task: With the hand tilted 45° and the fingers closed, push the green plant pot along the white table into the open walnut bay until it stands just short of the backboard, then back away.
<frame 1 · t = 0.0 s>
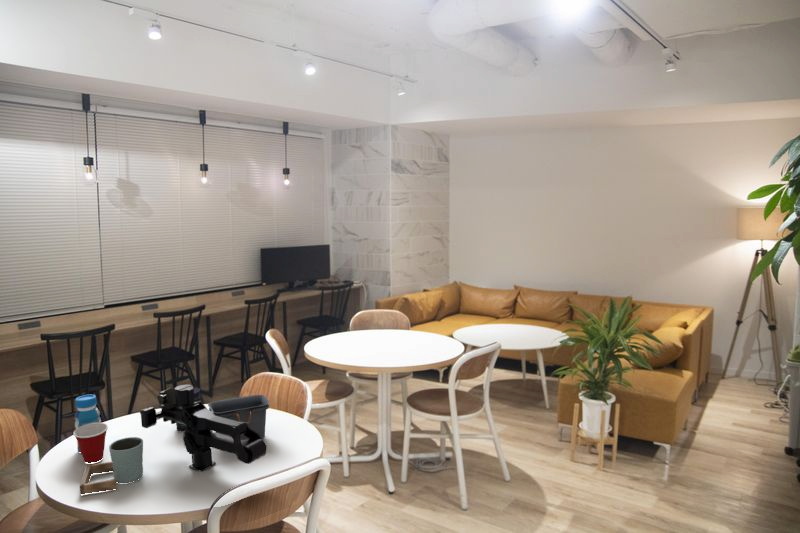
hand: (151, 406, 214), 17 cm above the table, tool horizontal, fingers open, 9 cm apart
plastic cup: (93, 461, 208), on the table
green plant pot: (129, 478, 195), on the table
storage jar: (189, 427, 237), on the table
walnut bay: (108, 481, 193), on the table
storage bin: (241, 440, 224), on the table
beverage bottle: (90, 450, 218), on the table
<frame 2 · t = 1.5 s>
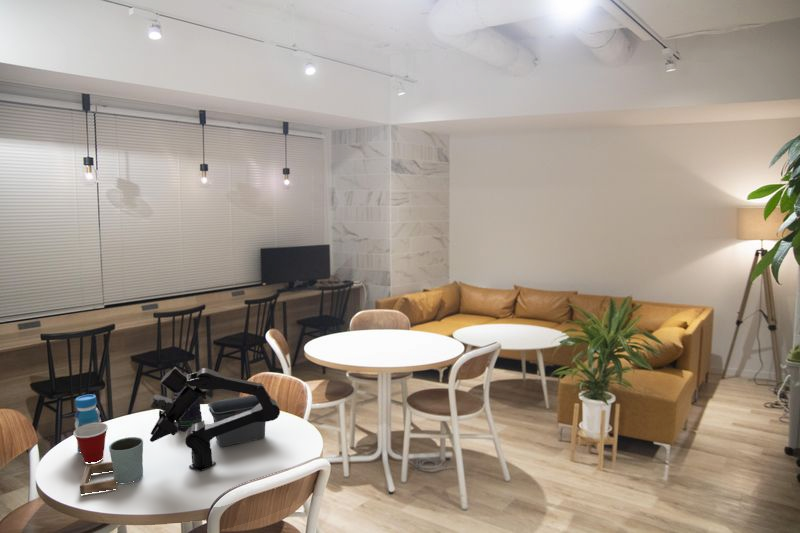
hand: (151, 437, 196), 13 cm above the table, tool tilted 45°, fingers open, 5 cm apart
nothing on the table moved.
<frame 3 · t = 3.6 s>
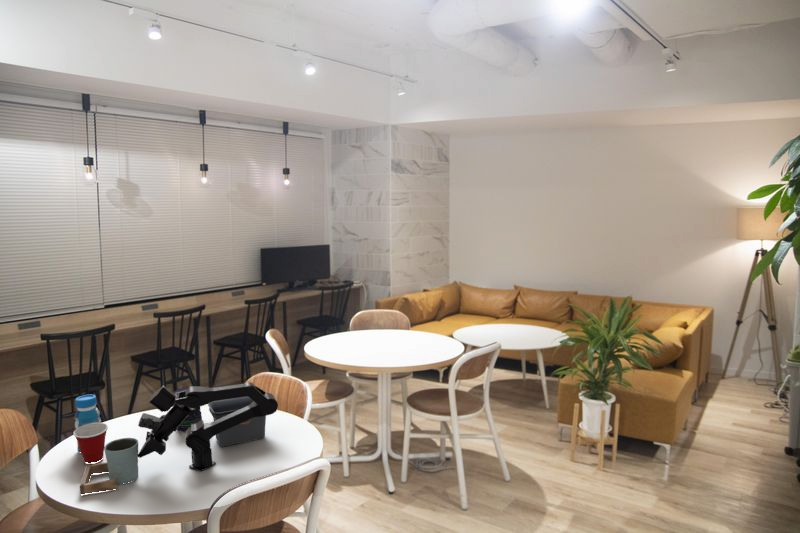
hand: (138, 456, 196), 7 cm above the table, tool tilted 45°, fingers closed, pressing on green plant pot
green plant pot: (124, 479, 195), on the table, touching gripper
everything else where it was.
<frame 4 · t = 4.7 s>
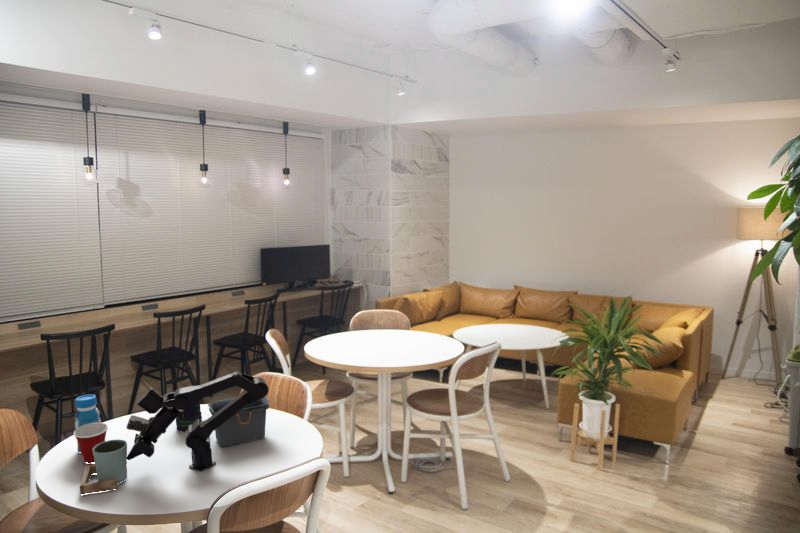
hand: (127, 459, 194), 7 cm above the table, tool tilted 45°, fingers closed
green plant pot: (113, 481, 194), on the table
everything else where it was.
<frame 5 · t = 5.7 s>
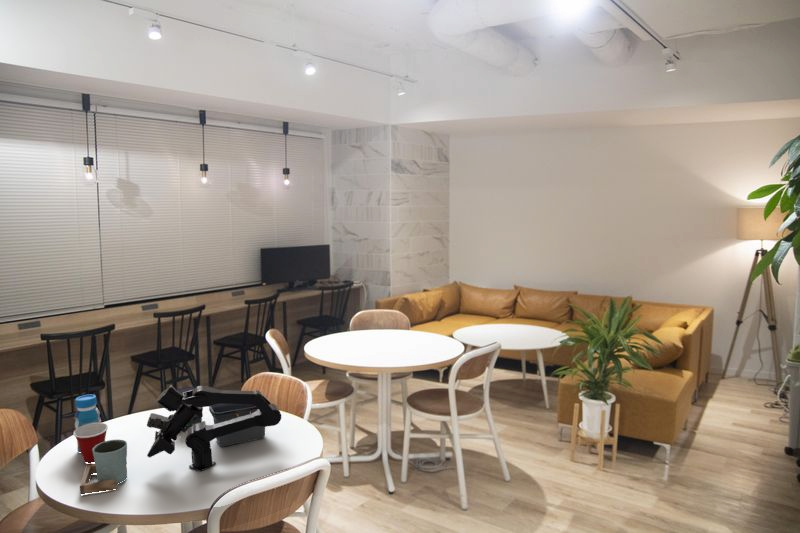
hand: (148, 456, 197), 6 cm above the table, tool tilted 45°, fingers closed
nothing on the table moved.
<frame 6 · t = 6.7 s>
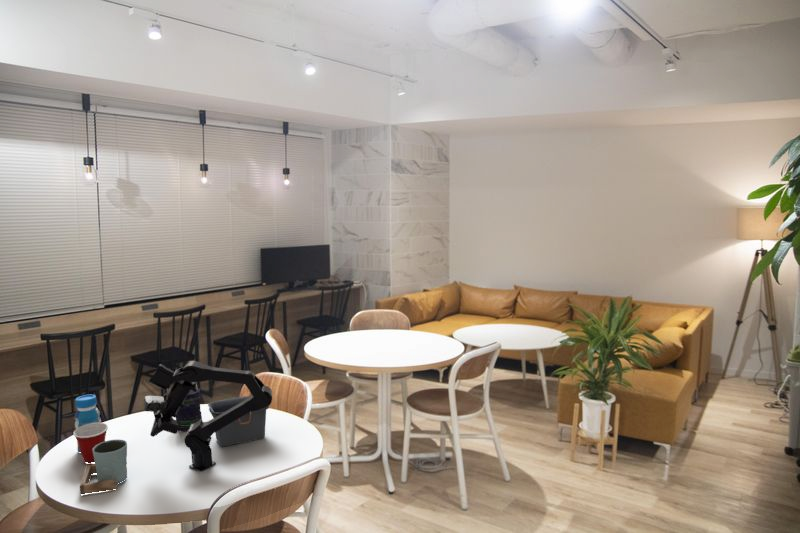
hand: (151, 435, 198), 12 cm above the table, tool tilted 35°, fingers closed
nothing on the table moved.
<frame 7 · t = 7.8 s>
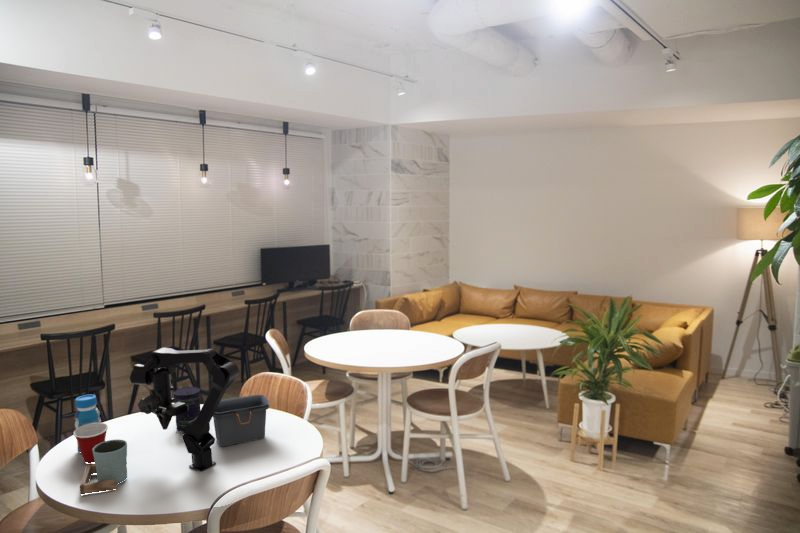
hand: (165, 429, 205), 12 cm above the table, tool pointing down, fingers closed
nothing on the table moved.
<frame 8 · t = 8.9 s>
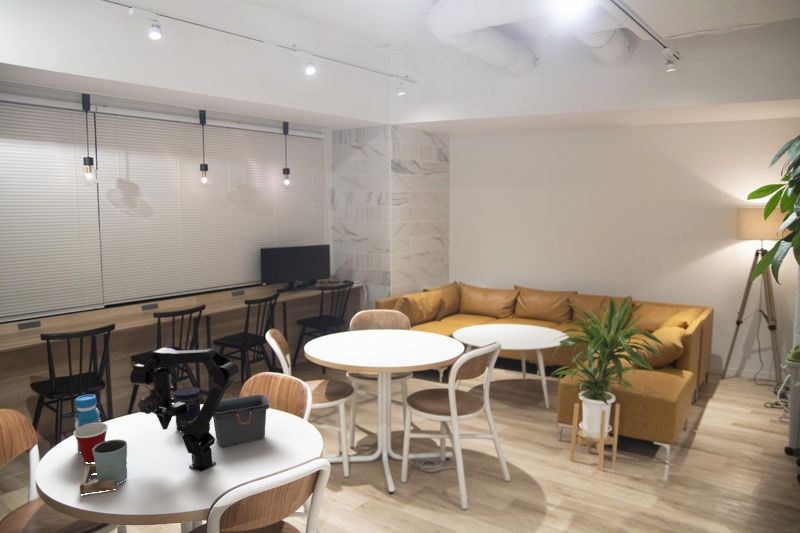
hand: (165, 429, 205), 12 cm above the table, tool pointing down, fingers closed
nothing on the table moved.
at the end: green plant pot 1.2 cm from the walnut bay (horizontally); green plant pot tilted 0° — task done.
